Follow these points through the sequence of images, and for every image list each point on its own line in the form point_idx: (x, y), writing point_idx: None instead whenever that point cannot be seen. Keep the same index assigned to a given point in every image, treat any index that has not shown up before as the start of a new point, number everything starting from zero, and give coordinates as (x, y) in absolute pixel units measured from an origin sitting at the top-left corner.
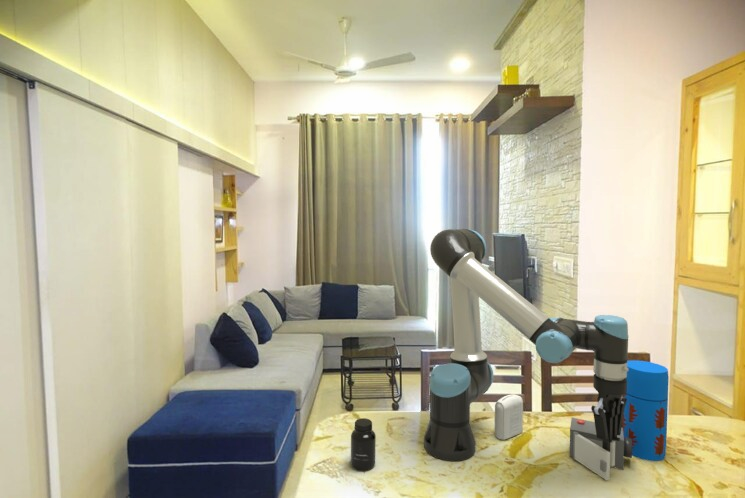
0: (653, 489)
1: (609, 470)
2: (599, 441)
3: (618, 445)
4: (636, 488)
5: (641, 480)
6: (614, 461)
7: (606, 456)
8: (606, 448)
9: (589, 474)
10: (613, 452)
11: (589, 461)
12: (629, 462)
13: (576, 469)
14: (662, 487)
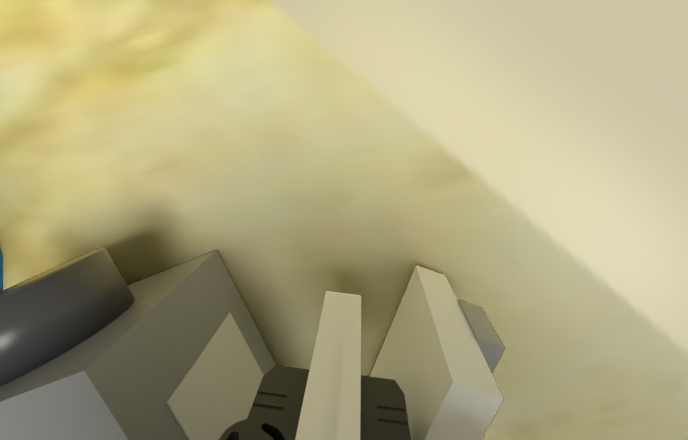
0: (283, 41)
1: (427, 290)
2: None
3: (150, 371)
4: (362, 121)
5: (241, 132)
6: (330, 306)
7: (491, 376)
8: (406, 433)
9: None
10: (342, 358)
11: None
12: None
13: None
14: (207, 7)
